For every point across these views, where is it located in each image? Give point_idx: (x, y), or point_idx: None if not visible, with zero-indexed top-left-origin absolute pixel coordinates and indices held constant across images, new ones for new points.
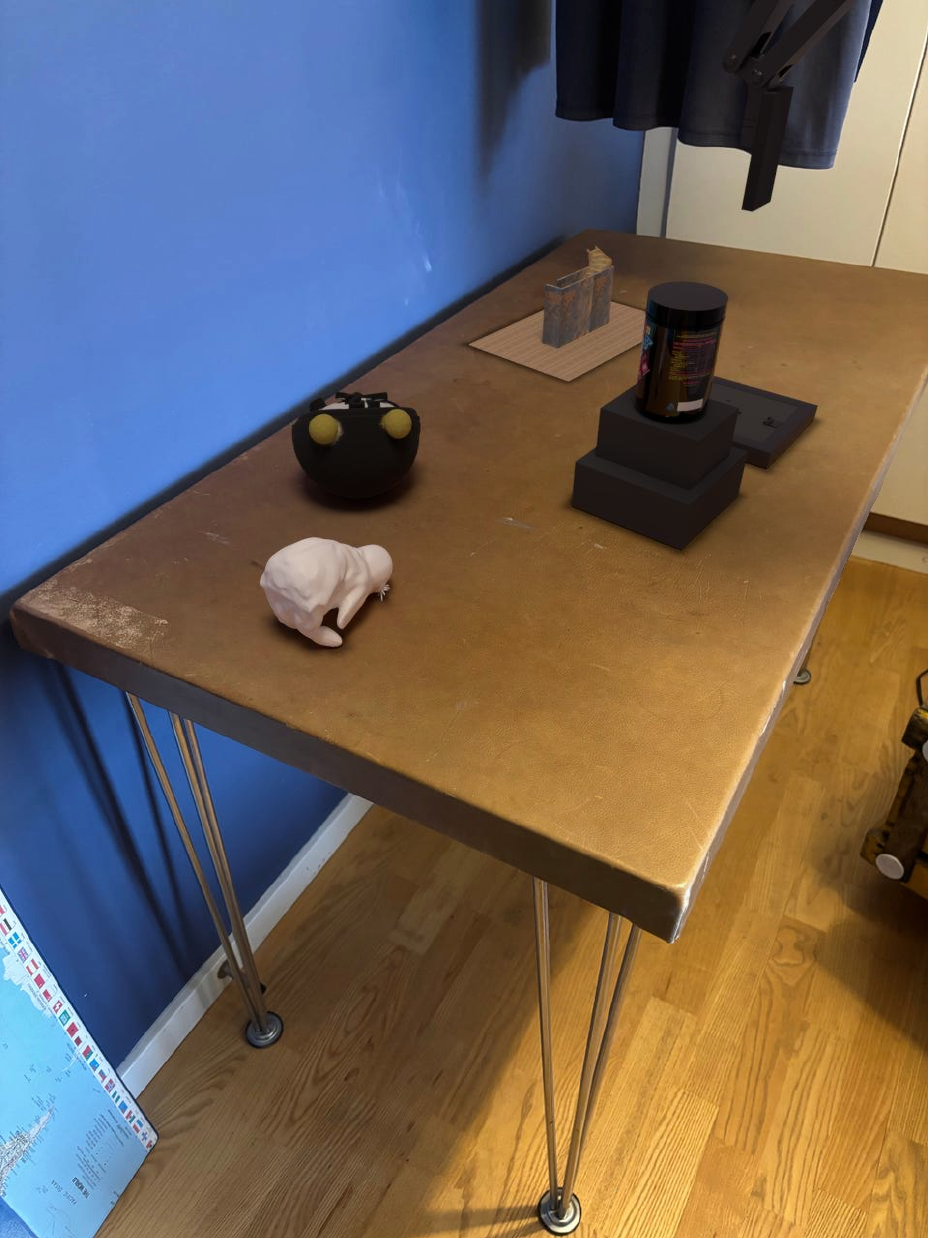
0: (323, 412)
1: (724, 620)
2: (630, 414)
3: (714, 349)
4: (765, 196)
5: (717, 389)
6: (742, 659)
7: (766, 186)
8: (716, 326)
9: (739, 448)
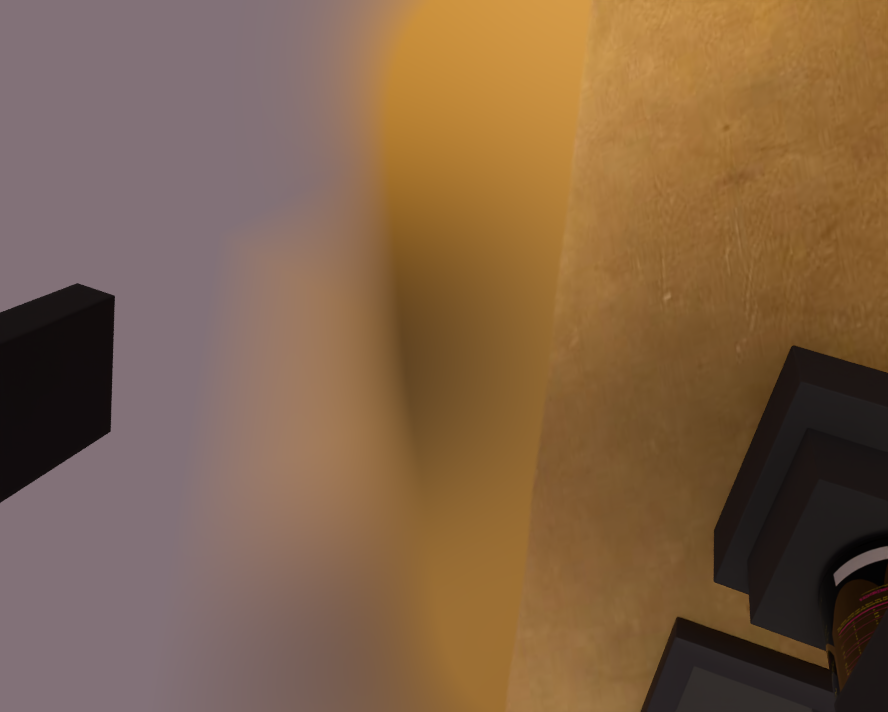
0: None
1: (686, 180)
2: None
3: (845, 669)
4: (868, 675)
5: None
6: (643, 92)
7: (881, 699)
8: None
9: (731, 650)
